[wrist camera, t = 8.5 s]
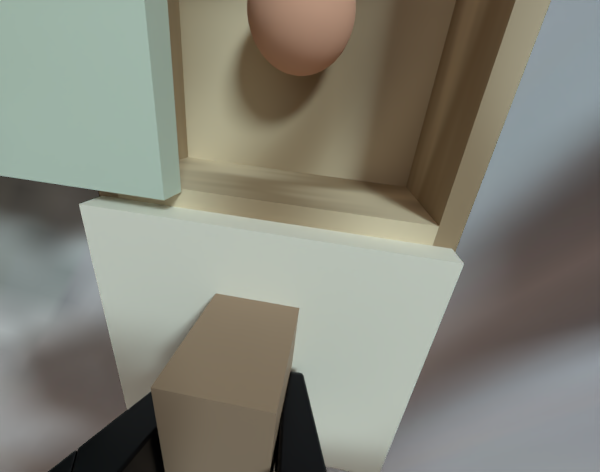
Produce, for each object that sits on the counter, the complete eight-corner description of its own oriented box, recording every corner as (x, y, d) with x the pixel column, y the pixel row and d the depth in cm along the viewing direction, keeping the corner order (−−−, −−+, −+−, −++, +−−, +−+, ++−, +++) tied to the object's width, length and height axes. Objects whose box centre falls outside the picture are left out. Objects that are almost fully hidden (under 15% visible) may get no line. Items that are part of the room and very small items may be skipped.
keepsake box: (527, -188, 7) (775, -588, 3) (366, 369, 15) (374, 462, 11) (154, -200, 8) (-45, -527, 4) (192, 336, 16) (142, 412, 12)
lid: (446, 241, 8) (548, 370, 4) (374, 441, 12) (389, 606, 8) (113, 191, 9) (-75, 258, 5) (149, 394, 12) (62, 522, 9)
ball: (362, -27, 9) (371, -92, 6) (345, 85, 10) (346, 75, 7) (265, -35, 9) (230, -100, 6) (260, 75, 10) (230, 62, 7)
